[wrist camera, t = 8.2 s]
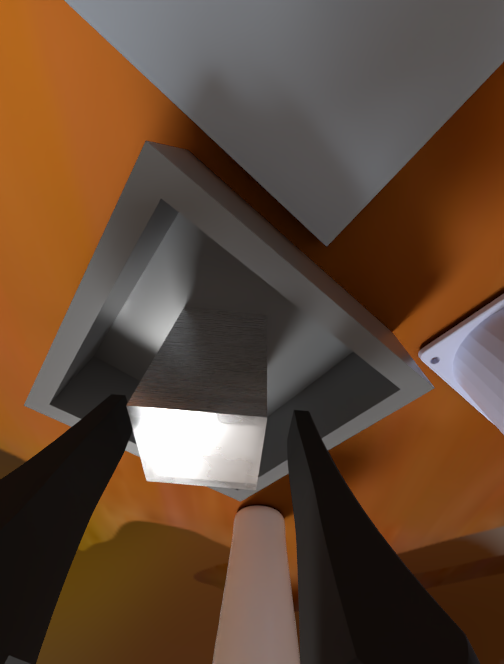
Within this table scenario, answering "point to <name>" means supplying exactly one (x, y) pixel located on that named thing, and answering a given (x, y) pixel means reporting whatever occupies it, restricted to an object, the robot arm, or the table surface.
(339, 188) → the base
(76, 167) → the table surface
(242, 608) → the drinking glass
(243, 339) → the light grey block
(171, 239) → the bin
